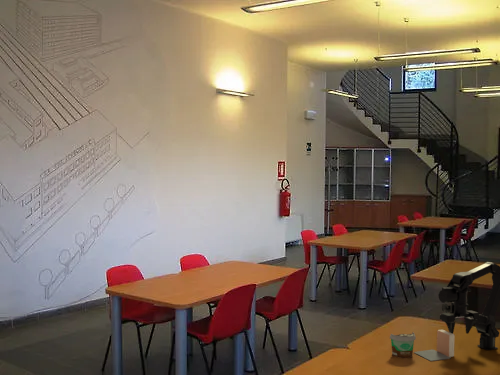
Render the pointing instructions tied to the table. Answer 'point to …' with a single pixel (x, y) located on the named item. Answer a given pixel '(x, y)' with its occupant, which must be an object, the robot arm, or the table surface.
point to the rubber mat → (432, 355)
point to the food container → (402, 345)
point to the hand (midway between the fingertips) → (459, 334)
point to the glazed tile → (445, 343)
